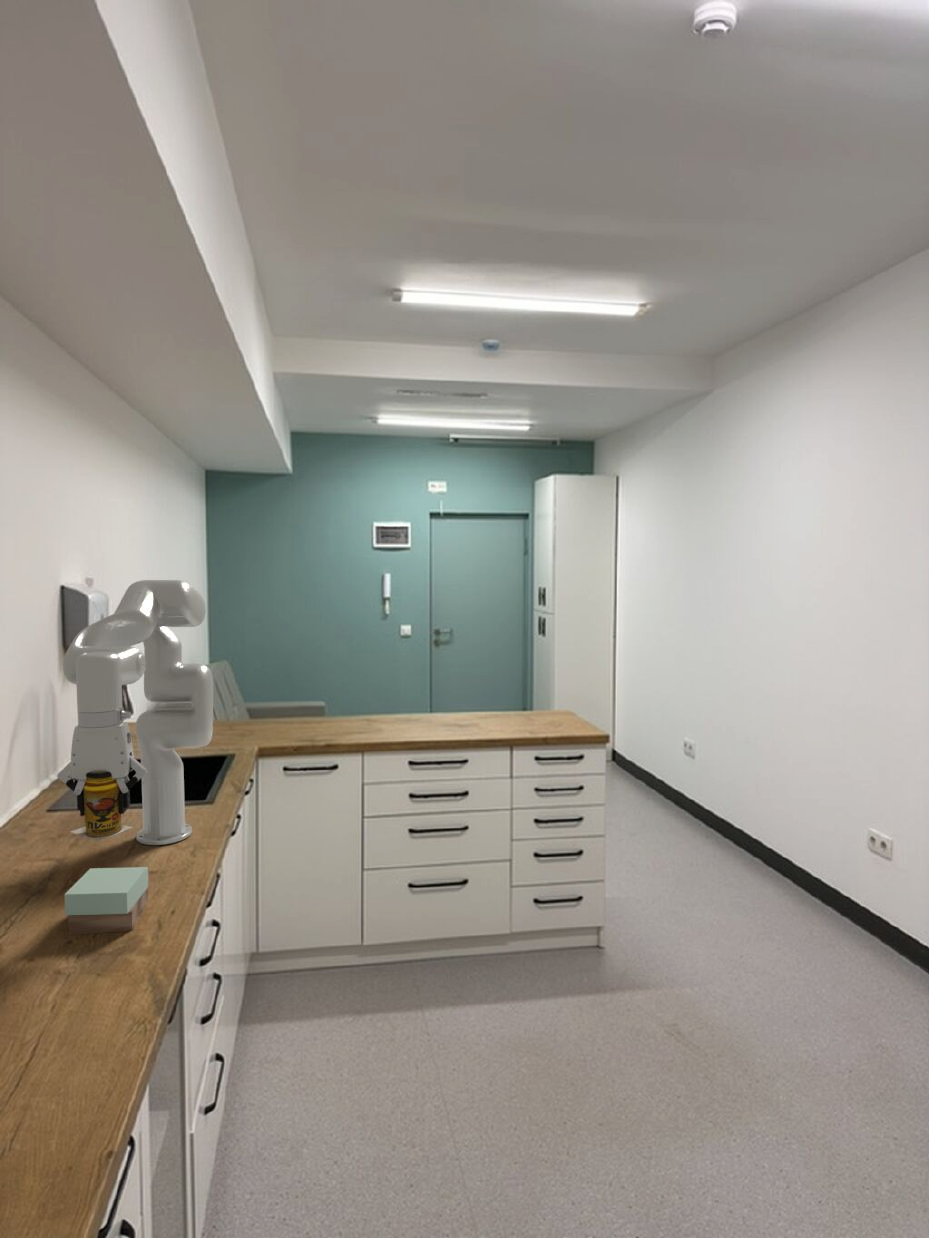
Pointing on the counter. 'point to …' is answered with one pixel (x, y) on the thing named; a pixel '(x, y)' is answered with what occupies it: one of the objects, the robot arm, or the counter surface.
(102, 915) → the bottom block
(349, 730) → the counter surface
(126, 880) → the top block
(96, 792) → the condiment
